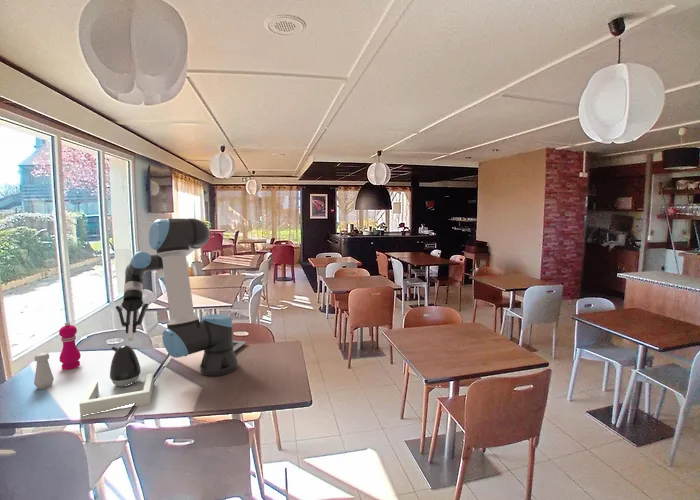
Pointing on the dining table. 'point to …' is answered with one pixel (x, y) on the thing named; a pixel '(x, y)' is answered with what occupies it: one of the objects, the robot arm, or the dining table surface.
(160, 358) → the dining table surface
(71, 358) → the pepper mill
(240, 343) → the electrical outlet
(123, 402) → the bay
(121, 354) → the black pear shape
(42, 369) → the salt shaker
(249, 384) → the dining table surface
